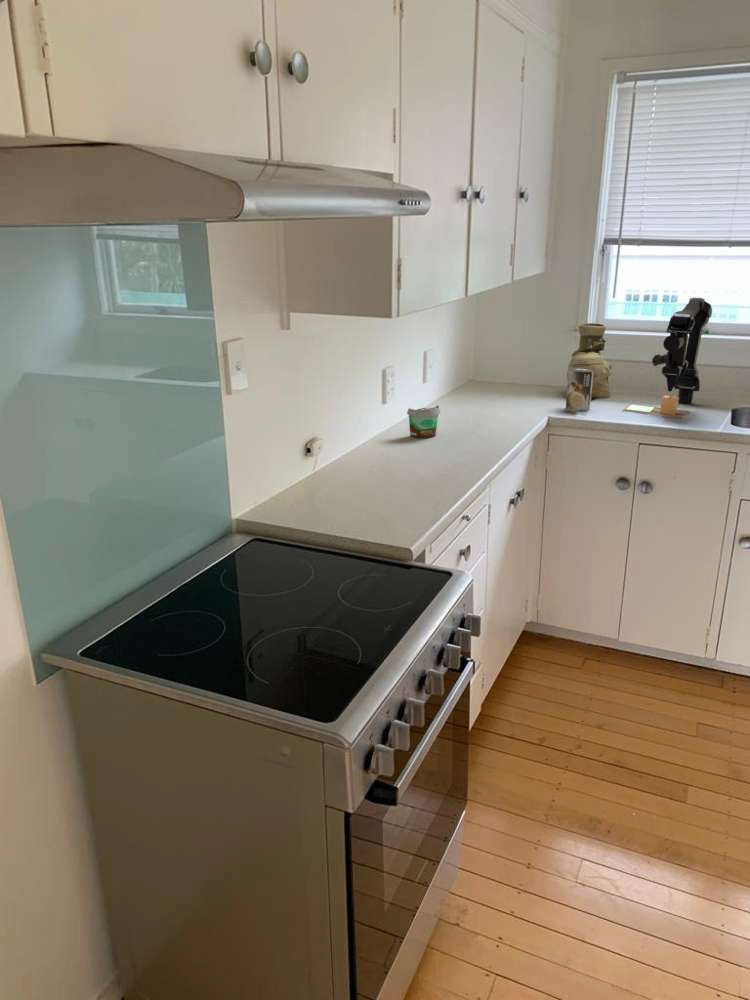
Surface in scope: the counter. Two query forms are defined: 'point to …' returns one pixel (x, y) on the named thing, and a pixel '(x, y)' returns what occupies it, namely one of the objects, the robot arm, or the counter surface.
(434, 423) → the food container
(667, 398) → the box
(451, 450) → the counter surface
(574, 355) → the ceramic vessel
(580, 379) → the coffee box
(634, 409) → the pad
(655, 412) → the board
